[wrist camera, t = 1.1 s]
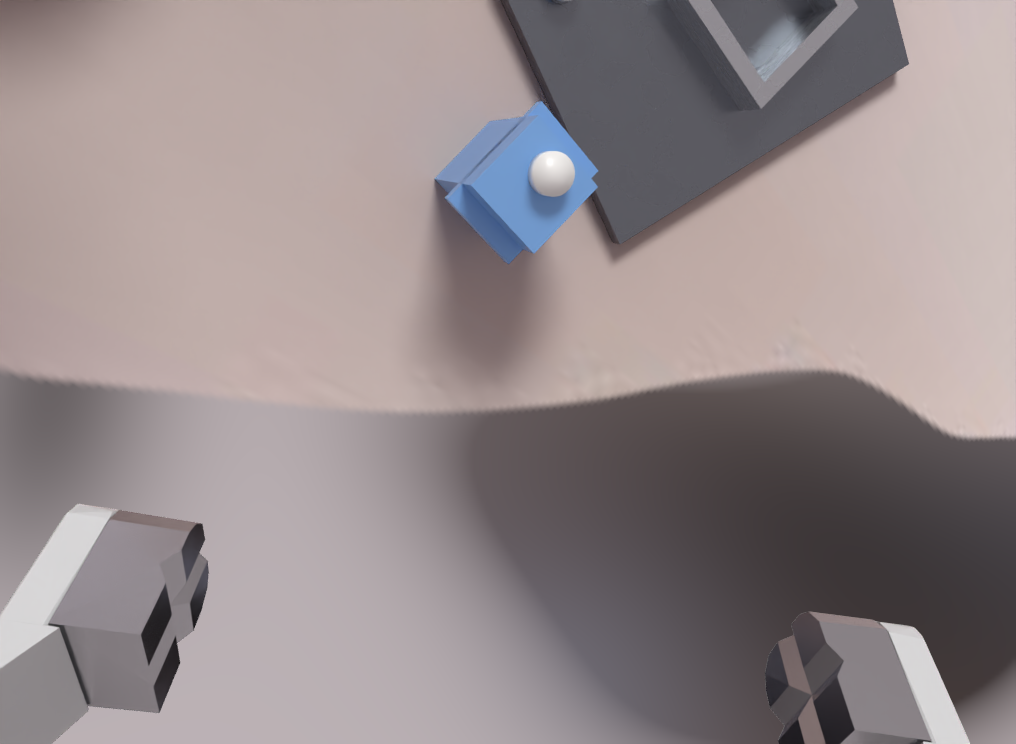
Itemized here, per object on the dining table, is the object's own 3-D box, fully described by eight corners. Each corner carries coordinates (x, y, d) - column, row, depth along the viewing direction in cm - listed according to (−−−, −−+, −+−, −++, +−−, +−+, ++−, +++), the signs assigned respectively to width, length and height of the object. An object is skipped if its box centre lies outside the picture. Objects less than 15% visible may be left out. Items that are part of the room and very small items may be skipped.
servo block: (421, 192, 41) (459, 202, 32) (502, 108, 41) (560, 97, 33) (476, 248, 42) (524, 271, 34) (553, 167, 42) (619, 172, 34)
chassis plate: (489, -25, 38) (506, -38, 36) (823, -212, 41) (863, -239, 38) (612, 242, 45) (635, 248, 42) (896, 65, 47) (935, 60, 44)
